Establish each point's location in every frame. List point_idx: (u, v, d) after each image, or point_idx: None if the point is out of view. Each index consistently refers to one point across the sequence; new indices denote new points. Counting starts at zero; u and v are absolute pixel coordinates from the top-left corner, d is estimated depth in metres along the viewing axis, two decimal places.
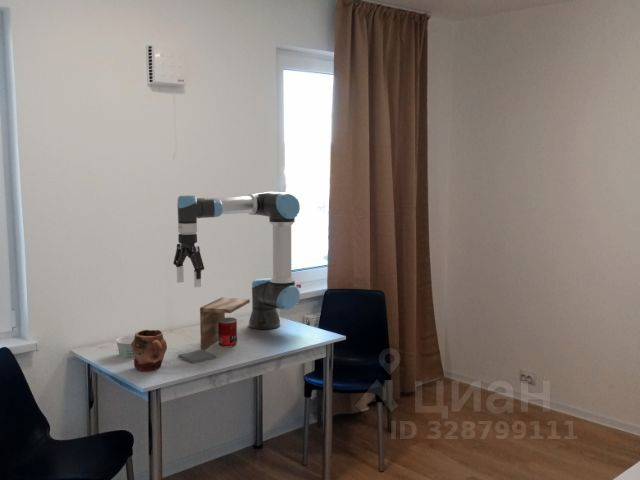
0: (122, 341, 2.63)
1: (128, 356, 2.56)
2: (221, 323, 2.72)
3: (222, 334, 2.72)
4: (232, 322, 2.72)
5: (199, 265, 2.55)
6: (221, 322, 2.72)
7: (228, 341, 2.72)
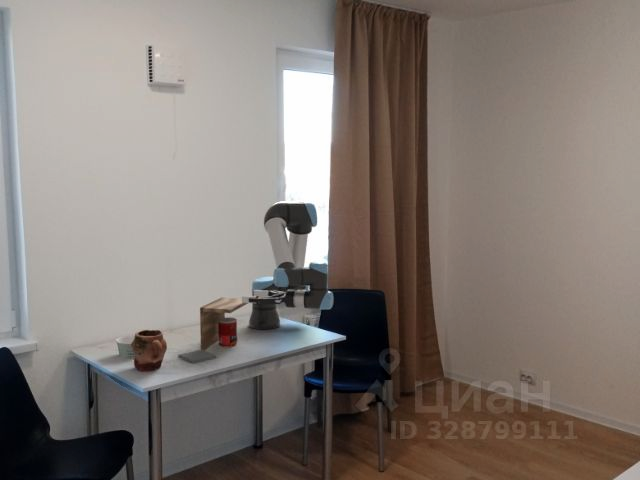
0: (122, 341, 2.63)
1: (128, 356, 2.56)
2: (221, 323, 2.72)
3: (222, 334, 2.72)
4: (232, 322, 2.72)
5: None
6: (221, 322, 2.72)
7: (228, 341, 2.72)
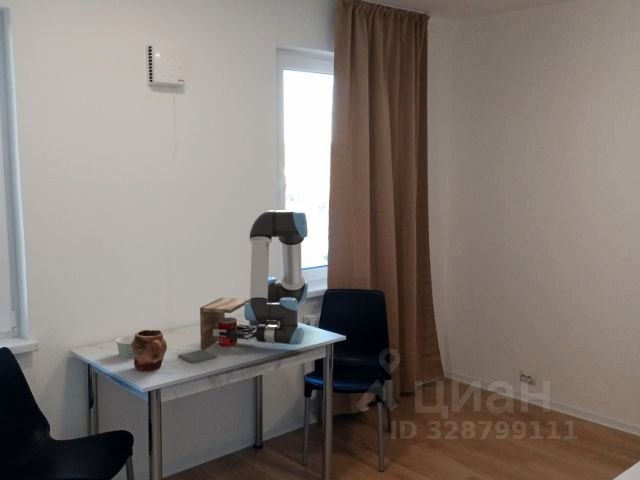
0: (122, 341, 2.63)
1: (128, 356, 2.56)
2: (221, 323, 2.72)
3: None
4: (232, 322, 2.72)
5: None
6: (221, 322, 2.72)
7: (228, 341, 2.72)
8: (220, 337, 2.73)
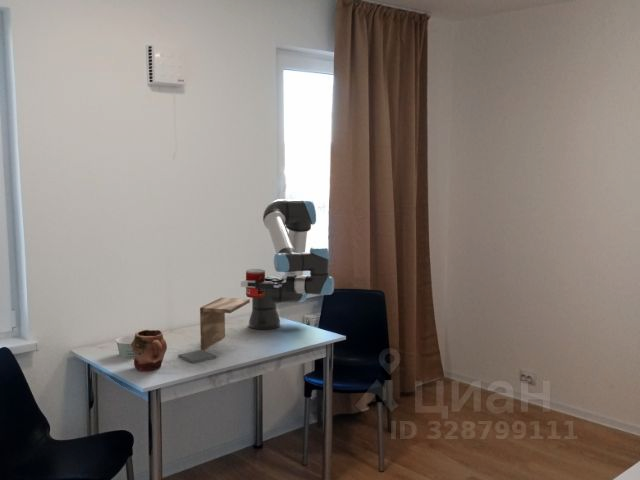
0: (122, 341, 2.63)
1: (128, 356, 2.56)
2: (249, 273, 2.65)
3: None
4: (261, 273, 2.65)
5: None
6: (249, 272, 2.65)
7: (256, 292, 2.65)
8: (248, 288, 2.66)
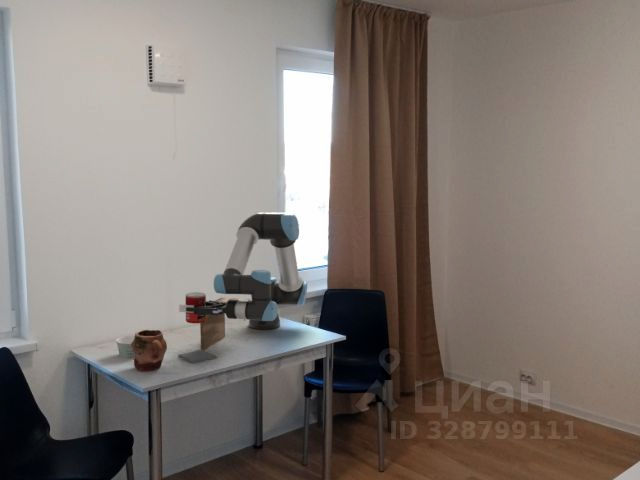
0: (122, 341, 2.63)
1: (128, 356, 2.56)
2: (188, 298, 2.50)
3: None
4: (200, 297, 2.50)
5: None
6: (188, 296, 2.50)
7: (195, 317, 2.50)
8: (187, 313, 2.51)
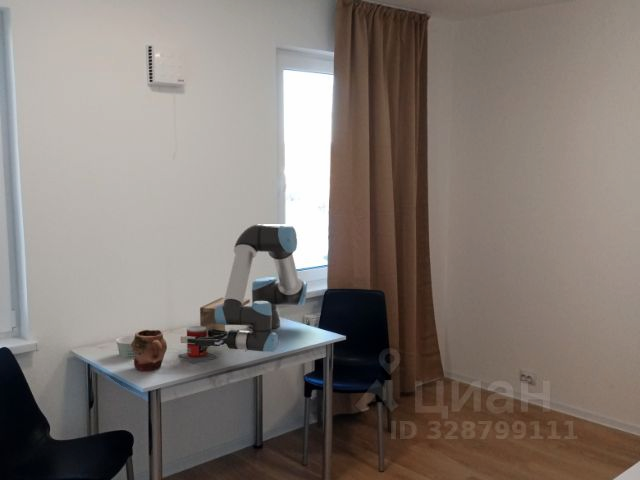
0: (122, 341, 2.63)
1: (128, 356, 2.56)
2: (189, 332, 2.53)
3: (191, 344, 2.53)
4: (201, 331, 2.53)
5: None
6: (189, 331, 2.53)
7: (197, 351, 2.53)
8: (189, 347, 2.54)
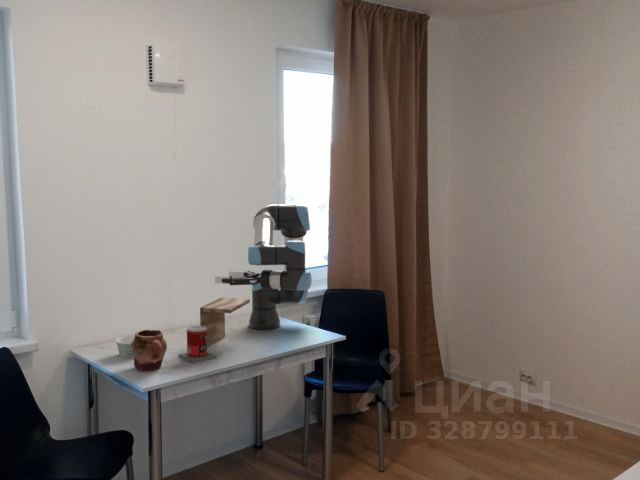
0: (122, 341, 2.62)
1: (128, 356, 2.56)
2: (189, 332, 2.53)
3: (191, 344, 2.53)
4: (201, 331, 2.53)
5: None
6: (189, 331, 2.53)
7: (197, 351, 2.53)
8: (189, 347, 2.54)
